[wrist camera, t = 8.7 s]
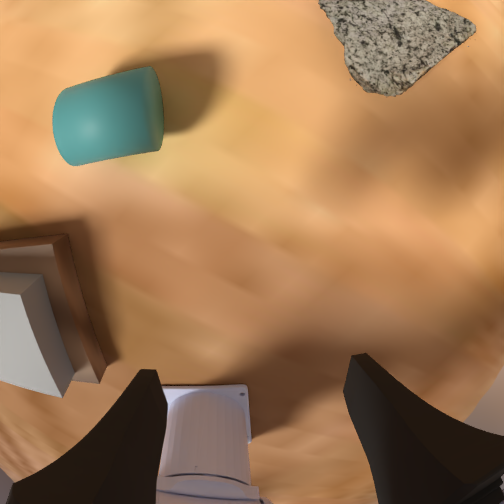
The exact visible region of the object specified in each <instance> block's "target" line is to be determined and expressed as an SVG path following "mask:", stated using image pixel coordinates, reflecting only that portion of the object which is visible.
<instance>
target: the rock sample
mask: <svg viewBox="0 0 504 504" xmlns="http://www.w3.org/2000/svg"><path fill="white" fill-rule="evenodd" d="M318 4H319V5H320V8H321V9H323V10H324V11H325V12H326V14H327V17H328V18H329V19H330V20H331V22H332V24H333V26H334V34H335V36H336V37H337V38H338V40H339V41H340V42H341V43H342V44H343V45H344V49H345V53H344V56H345V64H346V66H347V68H348V70H349V73H350V74H351V76H352V77H353V79H354V80H355V81H356V82H357V83H358V84H359V85H360V86H362V87H363V90H364V91H366V92H368V93H378V94H382V95H384V96H394V97H395V96H396V95H400V94H402V93H403V92H404V91H406V90H407V89H408V88H409V87H412V86H413V84H414V83H415V82H416V81H417V80H419V79H420V78H421V77H422V76H423V75H425V74H426V73H427V72H428V71H429V70H430V69H431V68H432V67H433V66H435V65H436V64H437V63H438V62H439V61H440V60H442V59H443V58H444V57H445V56H447V55H448V54H449V53H450V52H452V51H453V50H454V49H455V48H456V47H458V46H459V45H461V44H462V43H463V42H465V41H466V40H467V39H468V38H469V37H470V36H472V35H473V34H474V33H475V32H476V26H475V25H474V24H473V23H472V22H471V21H470V20H468V19H466V18H463V17H461V16H459V15H458V14H456V13H454V12H451V11H449V10H447V9H443V8H439V7H437V6H435V5H433V4H431V3H430V2H428V1H426V0H319V3H318ZM468 47H469V46H468ZM350 81H351V79H350Z"/></svg>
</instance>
